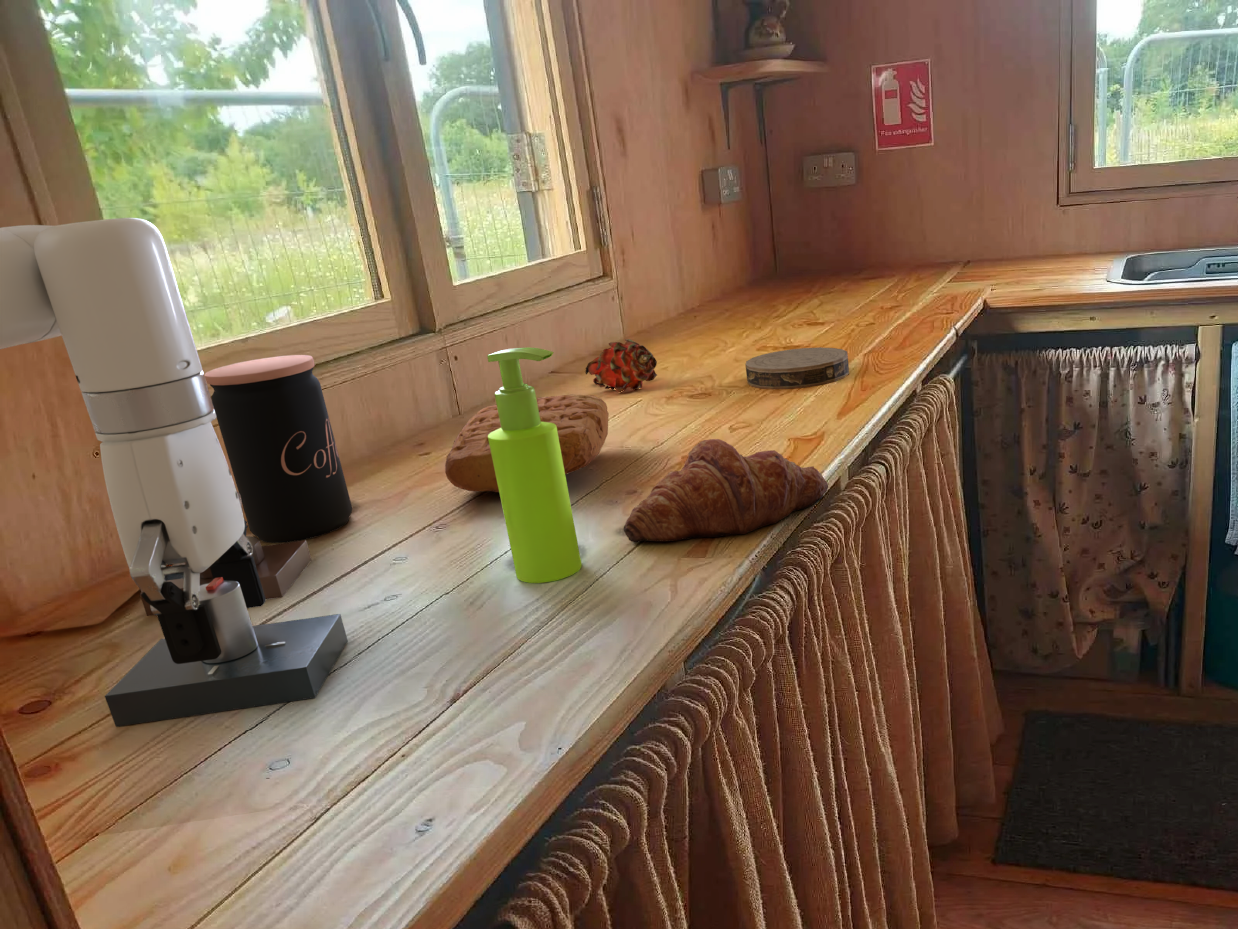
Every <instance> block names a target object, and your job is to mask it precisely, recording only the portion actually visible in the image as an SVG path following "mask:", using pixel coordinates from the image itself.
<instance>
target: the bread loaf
mask: <svg viewBox="0 0 1238 929" xmlns="http://www.w3.org/2000/svg"><path fill="white" fill-rule="evenodd" d="M536 399H537V405H538V410H539V415H540V421H541V422H550V423H554V424H555V425H556V427H557V432H558V438H559V443H560V449H561V454H562V460H563V465H564V471H565V475H568V474H570V473H573V472H576V471H578V470H580V469H584V468H586V467H587V466H589V465H590V464H591V462H592V461H594V460H595V459H596V457H598V455H599V454H600V451H601V450H602V448H603V446H604V444H605V442H606V440H607V437H608V434H609V415H610V414H609V410H608V405H607V403H606V402H605V401H604V400H603V399H602V398H600V397H597V396H595V395H591V394H573V393H572V394H564V395H551V396H545V397H544V396H543V397H542V396H540V397H539V396H538V397H536ZM499 428H501V424H500V419H499V414H498V409H497V404H496V403H495V404H493V405H489V406H485V407H484V408H481V409H479V410H478V411H477V412H476V413H475V414H474V415H473V416H472V417H470V418H469V420H468V421H467V423H466V424H465V425H464V426H463V427H462V429H461V431H460V432H459V433H458V434H457V436H456V438H455V439H454V441H453V444H452V445H451V446H452V447H451V449H450V451H449V453H448V454H447V455H446V459H445V463H444V467H445V468H444V469H445V471H444V472H445V476H446V478H447V480H448V481H449V482H450V483H451V484H452V485H453V486H454V487H456V488H459V489H460V490H465V491H468V492H493V493H499V489H498V484H497V479H496V474H495V469H494V464H493V459H492V455H491V450H490V445H489V440H488V435H489V434H490V433H491V432H493V431H495V430H497V429H499Z"/></svg>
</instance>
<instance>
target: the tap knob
mask: <svg viewBox="0 0 1238 929" xmlns="http://www.w3.org/2000/svg"><path fill="white" fill-rule="evenodd" d="M201 604H206V605H207V608H208V611H209V614H210V617H211V620H212V623H213V626H214V630H215V633H216V636H217V639H218V642H219V645H220V648H221V654H220V655H219V657H218V658H216V659H212V660H205V661H203V662H205V663H221V662H227V661H231V660H234V659H237V658H240V657H242V656H245V655H247V654H249V653H250V652H252V651H253V650H255V649H256V647H257V645H258V643H257V639H256V636H255V633H254V630H253V626H254V625H253V623H252V621H251V617H250V614H249V611H248V608H247V607H246V604H245V600H244V597H243V594H242V591H241V587H240V584H239V583H238V582H236V581H223V577H219V578H215V579H214V580H213V581H212V582H210V583H208V584H204V585H201V586H200V590H199V605H201Z"/></svg>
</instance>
